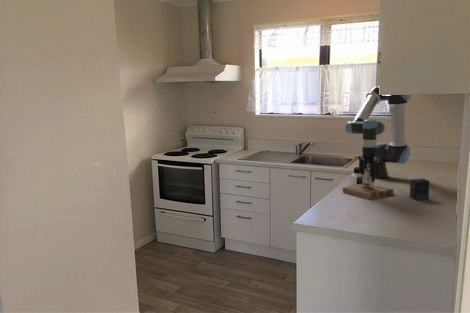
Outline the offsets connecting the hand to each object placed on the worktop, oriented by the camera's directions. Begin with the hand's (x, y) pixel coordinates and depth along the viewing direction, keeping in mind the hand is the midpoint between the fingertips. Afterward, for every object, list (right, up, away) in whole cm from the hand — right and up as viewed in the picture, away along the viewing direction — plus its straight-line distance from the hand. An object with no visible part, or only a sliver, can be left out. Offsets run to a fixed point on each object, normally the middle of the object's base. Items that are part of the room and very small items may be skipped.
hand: (367, 186), depth 227 cm
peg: (0, -2, 0) cm, 2 cm away
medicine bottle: (0, -2, +18) cm, 18 cm away
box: (+24, -6, -13) cm, 28 cm away
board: (0, -4, +1) cm, 4 cm away
